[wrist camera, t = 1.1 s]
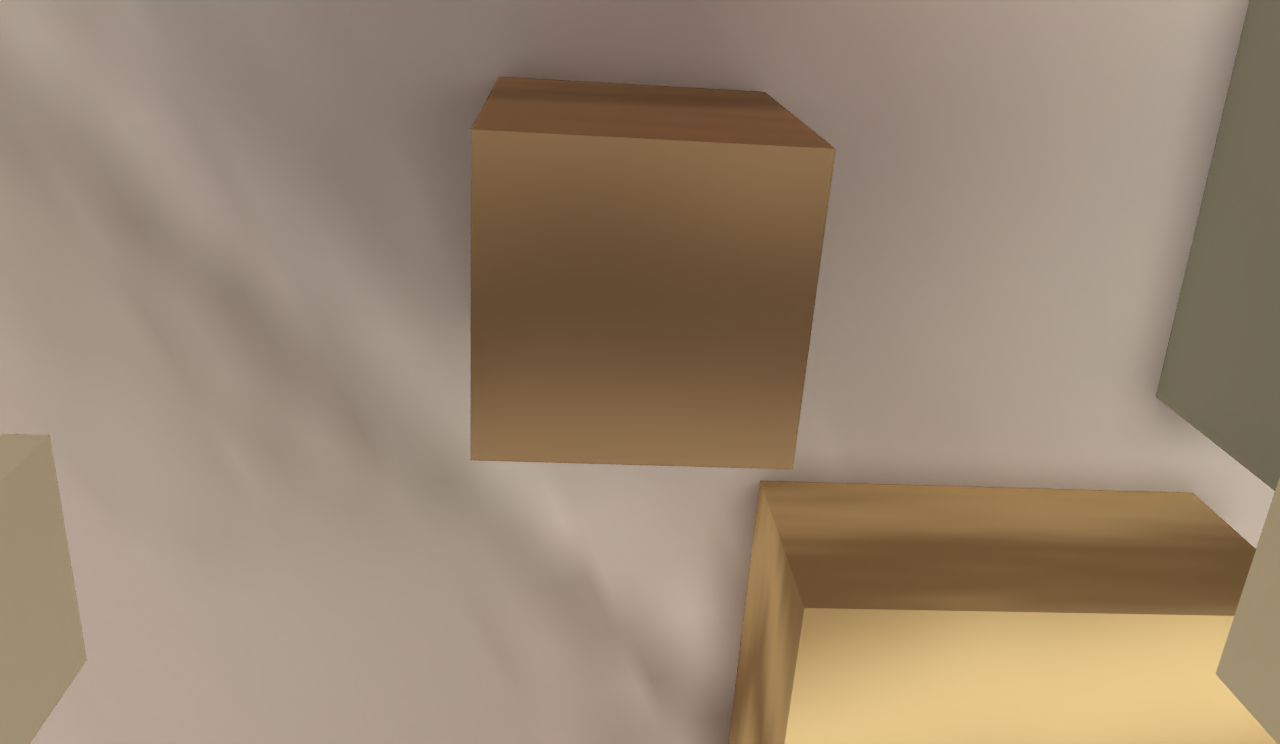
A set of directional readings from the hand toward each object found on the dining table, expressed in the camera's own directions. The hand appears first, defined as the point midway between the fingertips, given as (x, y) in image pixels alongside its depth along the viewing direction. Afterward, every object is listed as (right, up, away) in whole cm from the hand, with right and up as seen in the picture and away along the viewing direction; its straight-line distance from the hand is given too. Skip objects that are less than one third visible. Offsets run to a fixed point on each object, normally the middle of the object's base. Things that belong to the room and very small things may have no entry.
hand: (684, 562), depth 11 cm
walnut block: (-1, +6, +13) cm, 15 cm away
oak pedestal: (+8, -6, +19) cm, 22 cm away
